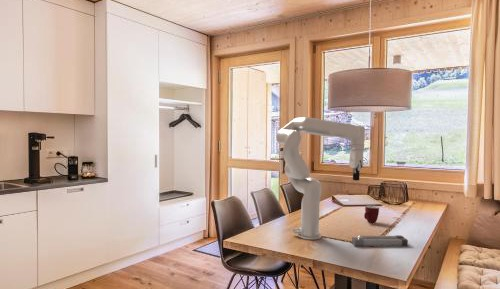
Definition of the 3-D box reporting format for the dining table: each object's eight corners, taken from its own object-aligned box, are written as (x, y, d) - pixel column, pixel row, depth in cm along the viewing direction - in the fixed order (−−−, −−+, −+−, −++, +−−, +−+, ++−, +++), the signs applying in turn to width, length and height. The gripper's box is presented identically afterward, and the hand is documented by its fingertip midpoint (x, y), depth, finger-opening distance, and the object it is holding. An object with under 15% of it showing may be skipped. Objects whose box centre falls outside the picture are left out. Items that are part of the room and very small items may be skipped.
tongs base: (354, 246, 171) (355, 238, 171) (351, 243, 176) (351, 235, 176) (408, 246, 172) (408, 238, 172) (403, 243, 177) (403, 235, 177)
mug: (371, 226, 208) (372, 209, 207) (359, 223, 214) (360, 207, 213) (380, 223, 215) (381, 207, 214) (369, 220, 221) (369, 204, 220)
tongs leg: (362, 243, 176) (362, 237, 176) (360, 241, 179) (360, 235, 179) (403, 243, 177) (403, 237, 177) (400, 241, 180) (401, 235, 180)
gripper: (346, 146, 202) (345, 178, 203) (355, 148, 187) (354, 182, 188) (358, 147, 203) (357, 178, 204) (368, 148, 188) (367, 182, 189)
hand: (356, 180), depth 196 cm, fingers closed
